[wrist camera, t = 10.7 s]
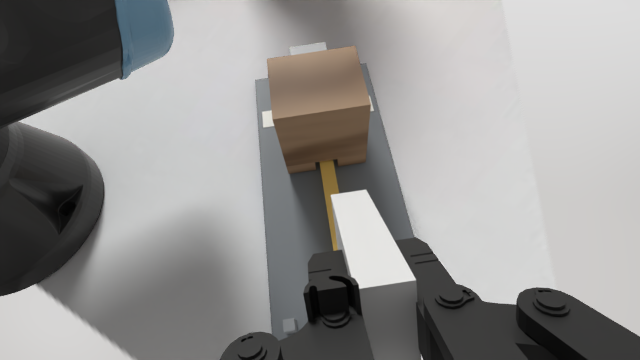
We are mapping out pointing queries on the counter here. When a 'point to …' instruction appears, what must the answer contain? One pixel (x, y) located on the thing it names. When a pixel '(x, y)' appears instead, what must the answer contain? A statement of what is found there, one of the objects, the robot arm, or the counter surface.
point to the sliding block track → (316, 204)
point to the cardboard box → (319, 108)
